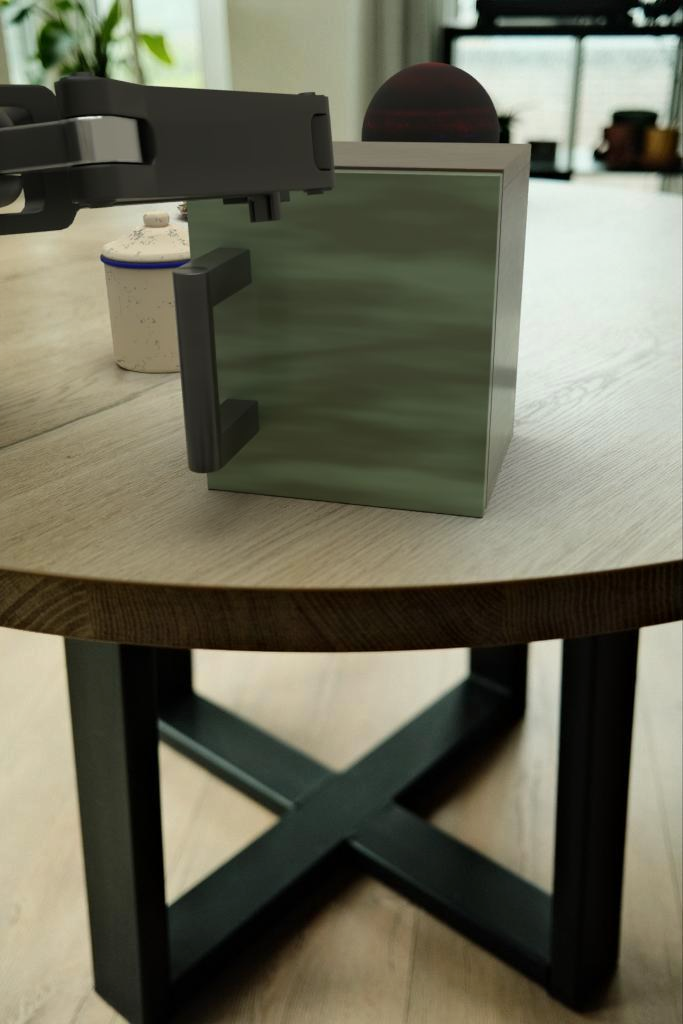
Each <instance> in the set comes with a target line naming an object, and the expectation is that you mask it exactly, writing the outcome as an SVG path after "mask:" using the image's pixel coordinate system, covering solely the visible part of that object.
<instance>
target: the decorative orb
mask: <svg viewBox="0 0 683 1024" xmlns="http://www.w3.org/2000/svg"><path fill="white" fill-rule="evenodd" d="M361 127H362V128H361V142H428V143H500V121H499V117H498V113H497V110H496V106H495V104H494V102H493V100H492V98H491V96H490V94H489V93H488V91H487V90H486V89H485V87H484V86H483V85H482V83H481V82H480V81H479V80H477V78H475V77H474V76H473V75H472V74H470V73H468V72H467V71H466V70H464V69H462V68H460V67H457V66H455V65H452V64H448V63H445V62H444V63H443V62H422V63H417V64H413V65H410V66H408V67H405V68H403V69H401V70H400V71H399V70H398V71H397V72H396V73H394V74H393V75H391V77H389V78H387V80H385V82H383V83H382V84H381V86H380V87H379V88H378V89H377V90H376V92H375V93H374V95H373V96H372V98H371V100H370V102H369V104H368V106H367V108H366V110H365V114H364V117H363V121H362V126H361Z"/></svg>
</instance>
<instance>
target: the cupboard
mask: <svg viewBox="0 0 683 1024" xmlns="http://www.w3.org/2000/svg"><path fill="white" fill-rule="evenodd" d="M332 144H333V156H334V168H335V169H343V170H392V171H441V172H490V173H502V174H503V182H502V201H501V220H500V239H499V259H498V278H497V297H496V316H495V335H494V354H493V373H492V393H491V412H490V431H489V450H488V469H487V488H486V508H485V510H487V509H488V506H489V503H490V500H491V497H492V495H493V492H494V489H495V486H496V484H497V480H498V477H499V475H500V472H501V470H502V467H503V463H504V461H505V458H506V456H507V453H508V450H509V447H510V444H511V441H512V438H513V436H514V427H515V425H514V424H515V410H516V397H517V395H516V394H517V381H518V380H517V379H518V365H519V364H518V363H519V347H520V346H519V345H520V332H521V318H522V317H521V316H522V315H521V314H522V300H523V299H522V298H523V284H524V283H523V282H524V269H525V267H524V265H525V251H526V250H525V249H526V237H527V236H526V234H527V220H528V219H527V218H528V207H529V206H528V203H529V186H530V173H531V172H530V171H531V156H532V144H531V143H500V142H499V143H428V142H362V141H354V140H353V141H351V140H349V141H342V140H341V141H340V140H338V141H337V140H332Z"/></svg>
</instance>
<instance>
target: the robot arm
mask: <svg viewBox="0 0 683 1024" xmlns="http://www.w3.org/2000/svg"><path fill="white" fill-rule="evenodd" d="M53 88H54V92H53V91H52V90H51V89H50V88H48V87H47V86H45V85H41V84H27V83H26V84H23V83H22V84H17V83H16V84H14V83H13V84H11V83H3V84H2V83H0V209H2V208H6V207H8V206H10V205H12V204H14V203H15V202H16V201H17V200H18V199H19V197H20V196H21V195H22V193H23V197H24V207H23V208H22V210H21V211H19V212H5V213H0V236H12V235H13V236H14V235H23V234H24V235H25V234H35V233H46V232H57V231H63V230H66V229H68V228H69V227H71V226H72V225H73V223H74V222H75V218H76V217H77V214H78V212H80V210H86V209H87V210H94V209H106V208H107V209H108V208H114V207H127V206H139V205H140V206H141V205H142V206H143V205H153V204H154V205H156V204H167V203H168V204H169V203H181V202H182V203H184V202H183V201H197V200H210V199H223V205H228V204H248V205H249V214H250V223H254V222H265V221H277V220H282V212H281V202H289V201H290V193H289V191H303V193H307V195H318V194H324V191H330V190H332V188H335V187H336V183H335V171H334V169H335V168H334V156H333V144H332V141H333V136H332V135H333V132H332V122H331V121H332V119H331V113H330V100H329V96H327V95H325V94H316V92H315V91H308V92H307V91H305V92H299V93H297V94H296V93H280V92H265V91H264V92H262V91H248V90H247V91H246V90H231V89H230V90H227V89H211V88H196V87H179V86H178V87H177V86H162V85H148V84H147V85H146V84H139V83H134V82H130V81H124V80H121V79H114V78H110V77H101V76H100V77H99V76H96V75H95V73H94V72H93V71H77V72H76V71H75V72H71V73H69V76H63V77H59V79H58V80H57V81H54V82H53Z"/></svg>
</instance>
